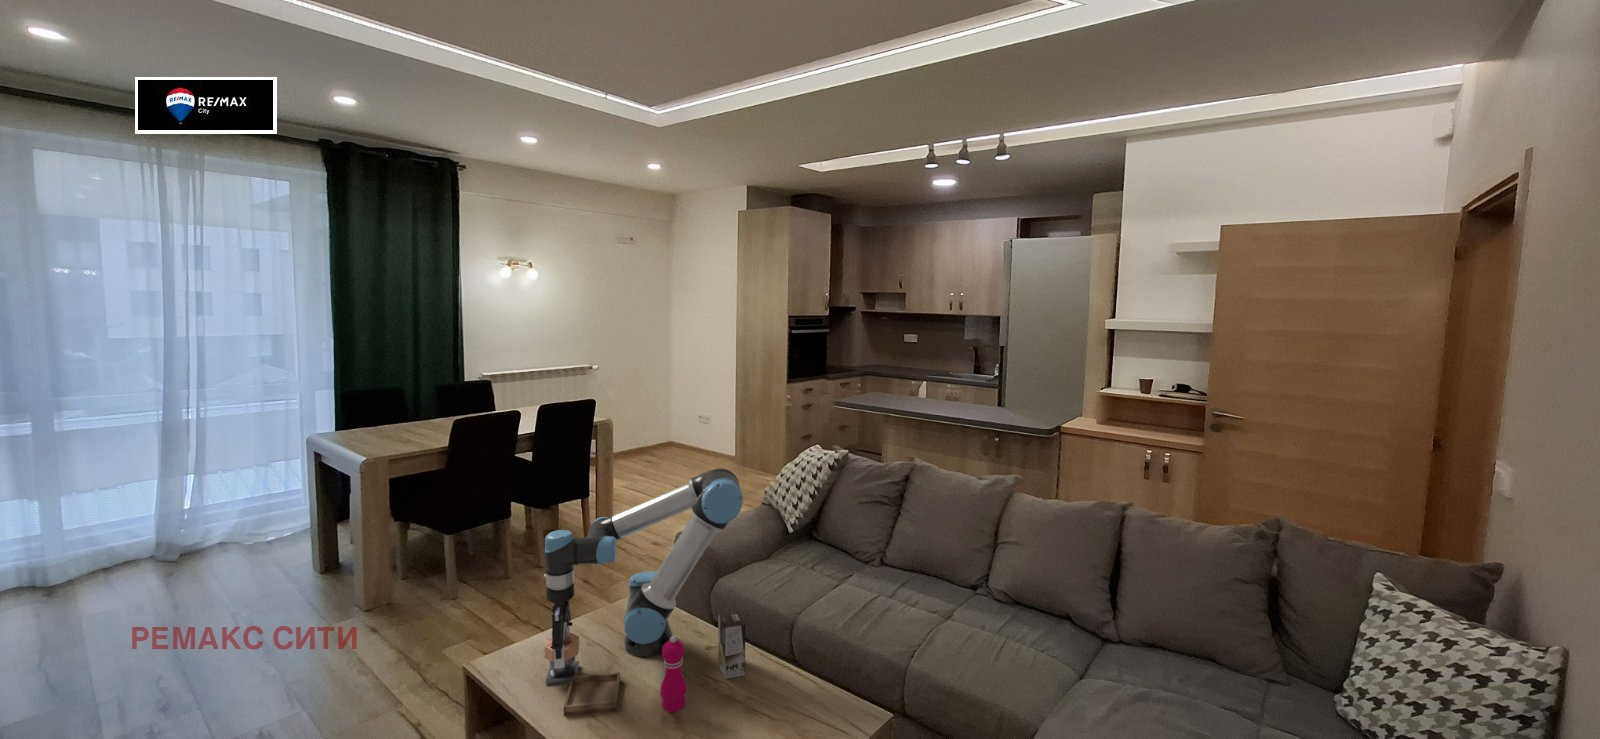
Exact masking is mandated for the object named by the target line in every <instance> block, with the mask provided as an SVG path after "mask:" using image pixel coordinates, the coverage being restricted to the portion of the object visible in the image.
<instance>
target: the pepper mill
mask: <svg viewBox="0 0 1600 739" xmlns="http://www.w3.org/2000/svg"><path fill="white" fill-rule="evenodd" d="M685 650H686V649H685V645H684V644H683V642H682V641H680V640H678V639H677V637H676V636H675V635H673V636H672V637H671V638H670V641H668V642H667V643H665V645H664V646H663V649H662V653H661V654H662V658H663V666H664V667H665V673H664V678H663V680H662V682H661V685H660V690H659V694H660V697H661V698H662V699H661V707H662V708H663V710H664V711H665V712H667V713H675V712H679V711H681V710H682V709H684V708H685V706H686V695H687V692H688V687H687V686H688V685H687V681H686V679H685V677H684V676H683V672H682V665H683V663H684V661H683V659H684V658H683V656H684V655H685Z"/></svg>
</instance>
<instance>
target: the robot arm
mask: <svg viewBox="0 0 1600 739" xmlns="http://www.w3.org/2000/svg"><path fill="white" fill-rule="evenodd" d="M743 498H744V496H743V492H742V489H741V486H740V482H739V479H738V477H737V476H736V475H735V473H734V472H733V471H731V470H730V469H726V468H722V467H720V468H713V469H709V470H707V471H706V472H703V473H701V474H698V475H696V476H694V477H691V478H690V479H689V480H688V482H687V483H686V484H684V485H681V486H679V487H677V488H675V489H672V490H670V491H667V492H665V493H662V494H660V495H658V496H655V497H653V498H651V499H648V500H646V501H644V502H642V503H639V504H637V505H634V506H633V507H630V508H628V509H626V510H625V509H624V510H623V511H620V512H619V513H616V514H615V515H611V516H609V517H607V516H601V517H598V518H596V519H595V520H594V521H593V522H592V524H590V527H589V528H588V534H587V535H586V537H574V536H573V532H572V531H571V530H565V529H558V530H554V531H551V532H549V533H548V534H546V536H545V538H544V542H545V543H544V551H543V552H544V559H545V574H544V575H543V578H545V579H546V580H545V582H546V584H545V585H546V589H545V590H546V592H545V593H546V600H547V602H549V603H552V604H554V605H552V613H551V622H552V623H551V624H552V625H551V626H552V630H551V631H552V632H551V637H552V646H551V648H552V650H554V669H555V668H564V667H565V658H564V645H563V636H564V622H565V621H566V622H567V633H571V630H570V629H571V628H570V627H572V626H573V621H572V617H571V606H570V605H571V604H570V600H572V599H573V598H574V596H575V584H574V582H575V568H574V566H581V565H582V566H584V565H604V564H611V563H612V564H613V563H615V561H616V559H617V553H618V552H617V550H618V549H617V548H618V545H617V544H618V543H617V541H619V540H622V538H626V537H628V536H631V535H632V534H634V533H637V532H639V531H642V530H644V529H647V528H648V527H650V526H653V525H657V524H658V523H661V522H663V521H665V520H667V519H670V518H671V517H674V516H676V515H679V514H681V513H684V512H685V511H688V510H690V511H691V515H692V516H691V517H690V519H689V521H688V522H687V523H686V525H685V527H684V529H683V531H682V532H681V533H680V534H679V537H678V538H677V539H676V541H675V543H674V544H673V546H672V548H671V549H670V550H669V553H668V554H667V555H666V557H665V559H664V560H663V562H662V563H661V565H660V567H659V568H658V569H657V571H654V570H653V571H652V570H649V571H641V572H637V573H635V574H633V575H631V577H629V580H628V587H629V589H628V600H627V605H626V610H625V615H624V619H623V630H624V633H625V635H624V640H623V641H624V649H625V651H626V652H627V653H628V654H630V655H633V656H637V657H651V656H656V655H659V654H662V649H663V646H664V645H665V643H667V642H668V641H670V638H671V637H672V636H674V634H673V631H672V628H671V625H670V622H669V620H668V618H670V616H671V614H672V613H673V611H674V609H675V607H676V606H677V602H676V596H677V595H678V593H679V592H680V591H681V589H682V587H683V585H684V584H685V582H686V581H687V580H688V578H689V576H690V574H691V572H693V570H694V568H695V567H696V565H697V564H698V562H699V560H700V558H701V557H702V556H703V554H704V553H705V551H706V549H707V548H708V546H709V545H710V544H711V541H712V540H713V538H715V537H714V536H715V535H716V534H717V532H720V531H724V530H725V529H726V527H727V525H728V524H729V523H730V522H731V521H733V520H734V519H736V518H737V517H738V515H739V514H740V512H741V510H742V506H743V502H744V499H743Z"/></svg>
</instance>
